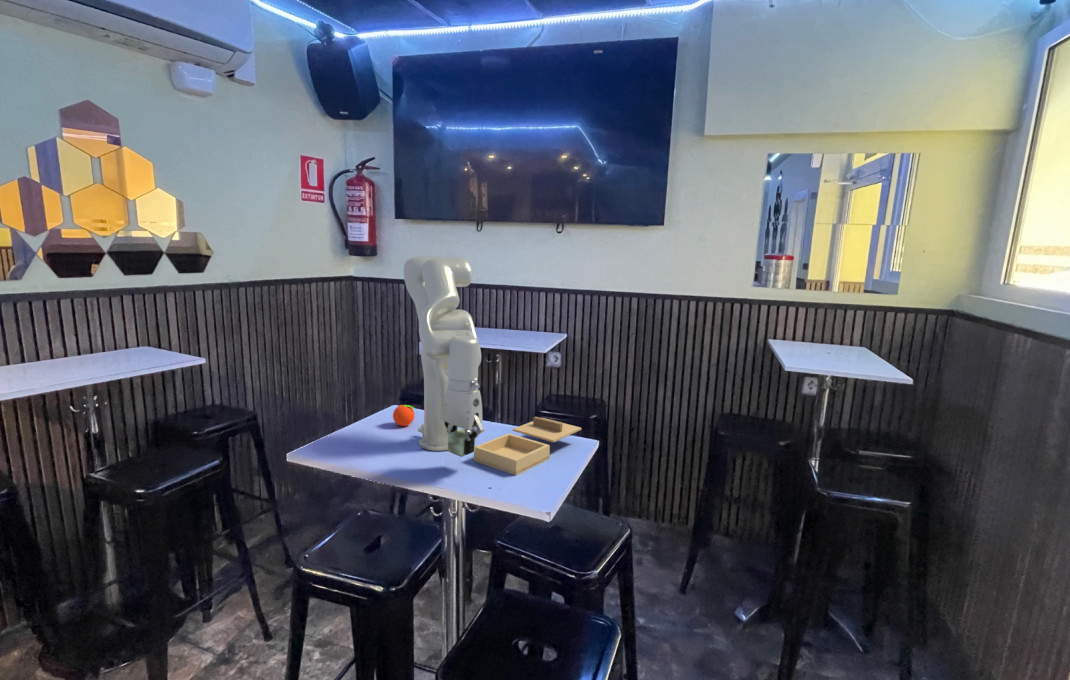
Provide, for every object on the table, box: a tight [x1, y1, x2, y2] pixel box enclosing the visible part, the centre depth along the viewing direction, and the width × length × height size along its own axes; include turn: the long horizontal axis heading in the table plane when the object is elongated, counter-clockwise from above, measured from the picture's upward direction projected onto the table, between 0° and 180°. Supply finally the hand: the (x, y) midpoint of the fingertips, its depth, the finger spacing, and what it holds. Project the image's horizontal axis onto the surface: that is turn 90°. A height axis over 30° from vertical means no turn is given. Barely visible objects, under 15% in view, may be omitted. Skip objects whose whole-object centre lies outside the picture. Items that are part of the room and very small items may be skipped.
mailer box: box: [473, 432, 551, 476], centre depth 146 cm, size 15×15×4 cm
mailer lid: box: [512, 416, 582, 443], centre depth 158 cm, size 15×15×3 cm
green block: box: [447, 428, 476, 458], centre depth 137 cm, size 5×5×5 cm
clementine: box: [392, 404, 417, 427], centre depth 171 cm, size 8×7×7 cm
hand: (461, 449), depth 137 cm, fingers closed on green block, 4 cm apart
